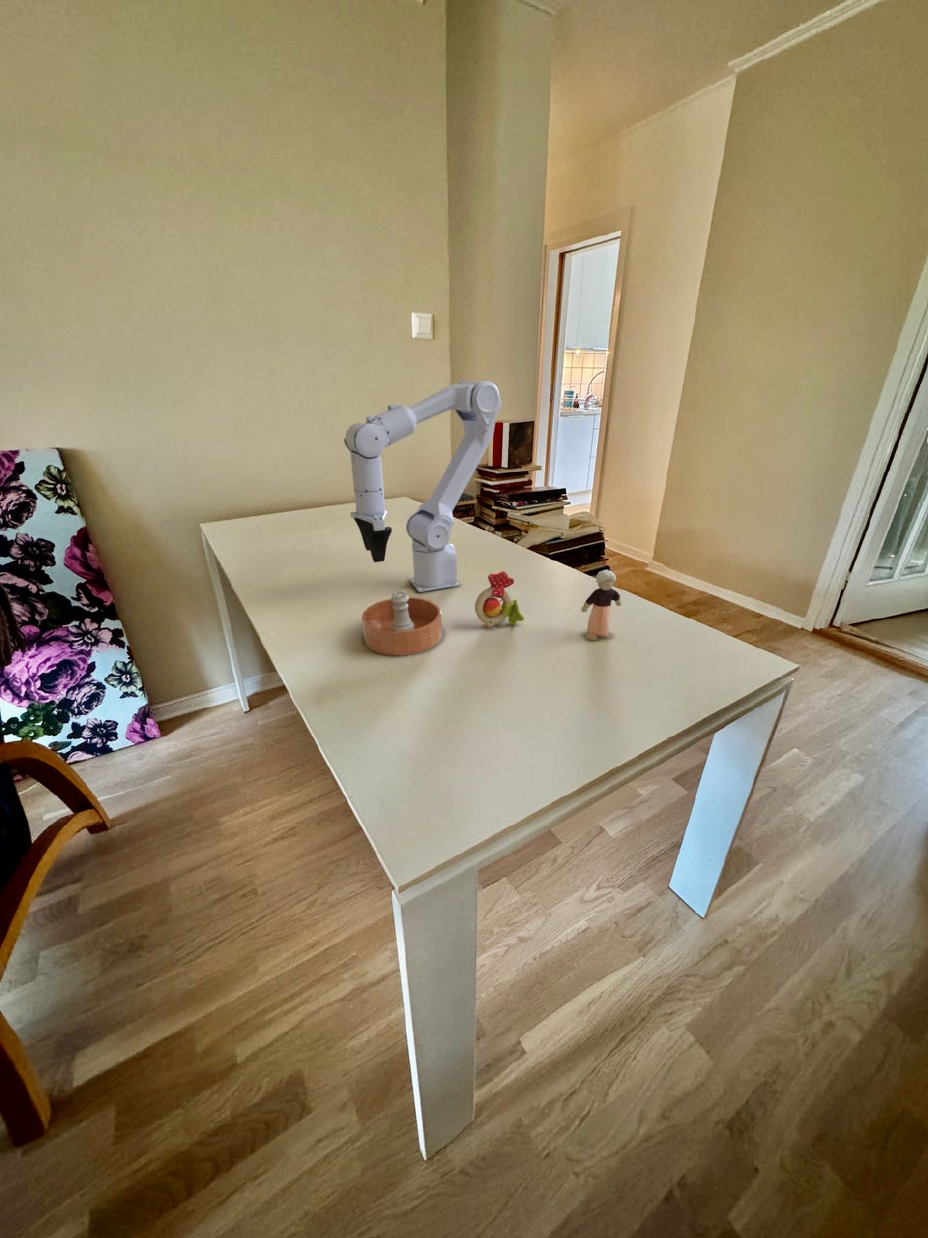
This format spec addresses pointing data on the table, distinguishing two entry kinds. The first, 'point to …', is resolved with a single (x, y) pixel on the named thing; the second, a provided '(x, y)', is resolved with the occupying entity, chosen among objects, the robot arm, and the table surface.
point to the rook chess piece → (401, 612)
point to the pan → (402, 642)
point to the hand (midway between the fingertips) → (374, 555)
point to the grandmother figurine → (601, 605)
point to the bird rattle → (497, 602)
